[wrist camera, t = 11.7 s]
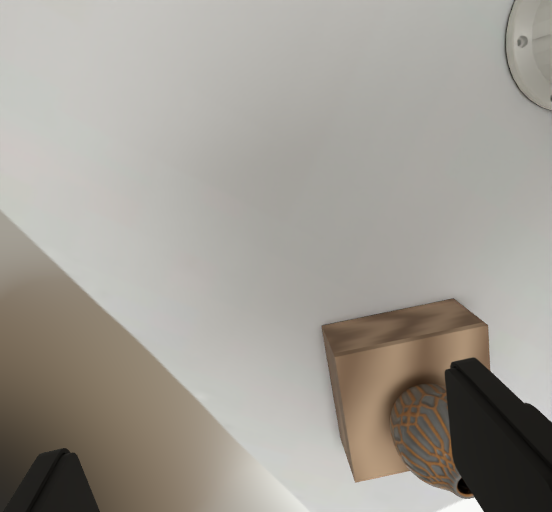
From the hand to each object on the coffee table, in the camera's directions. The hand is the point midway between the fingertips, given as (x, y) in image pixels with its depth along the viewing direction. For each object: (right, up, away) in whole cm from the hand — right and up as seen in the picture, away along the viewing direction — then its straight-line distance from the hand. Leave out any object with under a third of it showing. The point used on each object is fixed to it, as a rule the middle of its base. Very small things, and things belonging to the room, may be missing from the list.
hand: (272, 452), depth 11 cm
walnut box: (+12, -7, +32) cm, 35 cm away
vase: (+12, -8, +27) cm, 31 cm away
